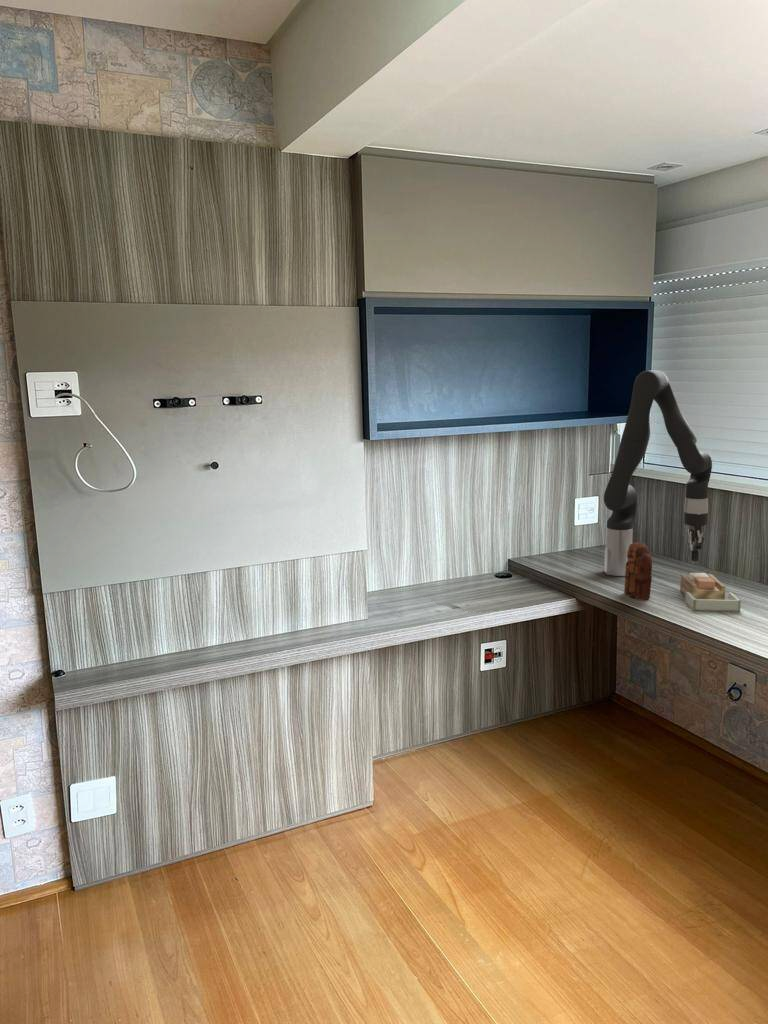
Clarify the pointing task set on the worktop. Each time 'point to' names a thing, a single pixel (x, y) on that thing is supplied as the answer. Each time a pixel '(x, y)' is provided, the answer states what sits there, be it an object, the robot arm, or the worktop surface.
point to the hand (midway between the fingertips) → (694, 560)
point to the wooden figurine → (638, 571)
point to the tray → (713, 604)
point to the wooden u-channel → (707, 594)
